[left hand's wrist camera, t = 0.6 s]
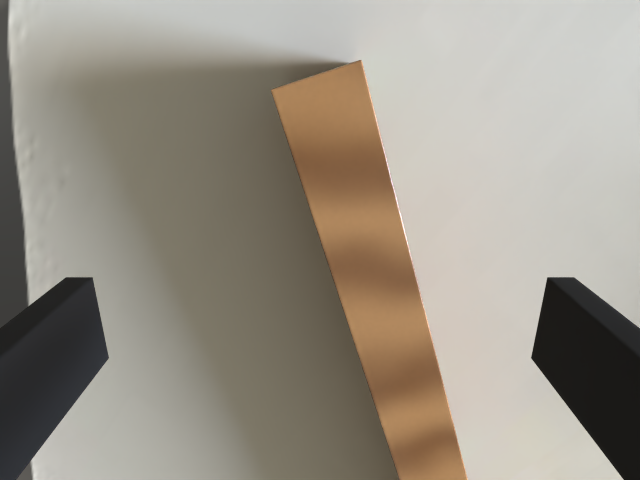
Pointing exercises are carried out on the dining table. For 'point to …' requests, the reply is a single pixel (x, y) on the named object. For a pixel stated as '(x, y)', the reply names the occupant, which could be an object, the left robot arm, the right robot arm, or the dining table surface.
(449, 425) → the bar
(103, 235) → the dining table surface
